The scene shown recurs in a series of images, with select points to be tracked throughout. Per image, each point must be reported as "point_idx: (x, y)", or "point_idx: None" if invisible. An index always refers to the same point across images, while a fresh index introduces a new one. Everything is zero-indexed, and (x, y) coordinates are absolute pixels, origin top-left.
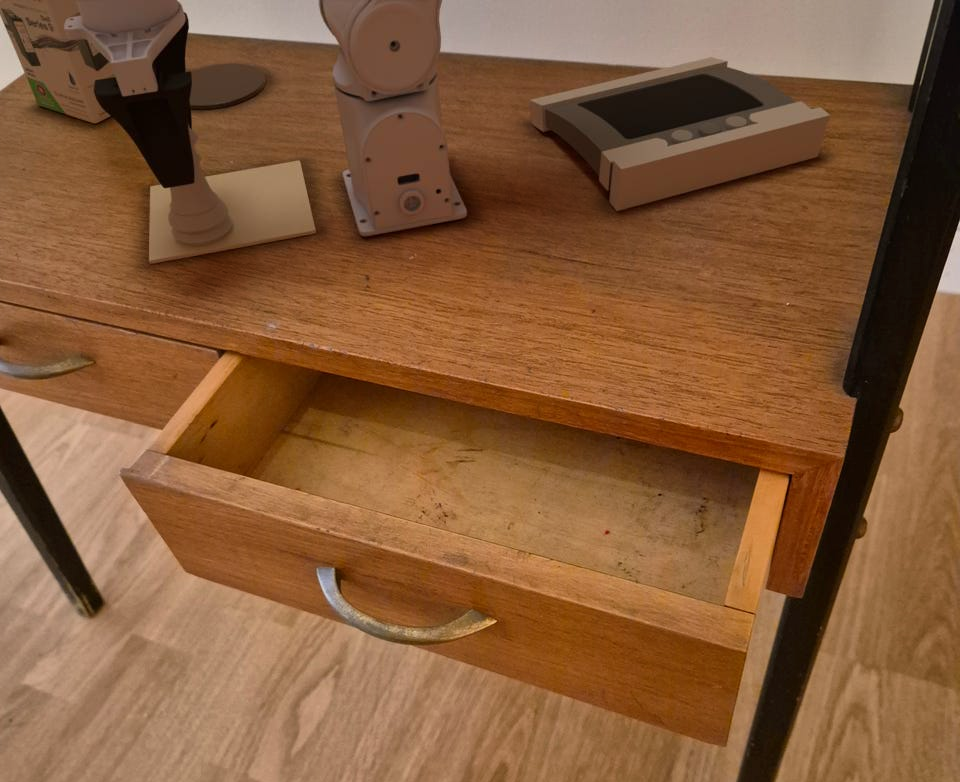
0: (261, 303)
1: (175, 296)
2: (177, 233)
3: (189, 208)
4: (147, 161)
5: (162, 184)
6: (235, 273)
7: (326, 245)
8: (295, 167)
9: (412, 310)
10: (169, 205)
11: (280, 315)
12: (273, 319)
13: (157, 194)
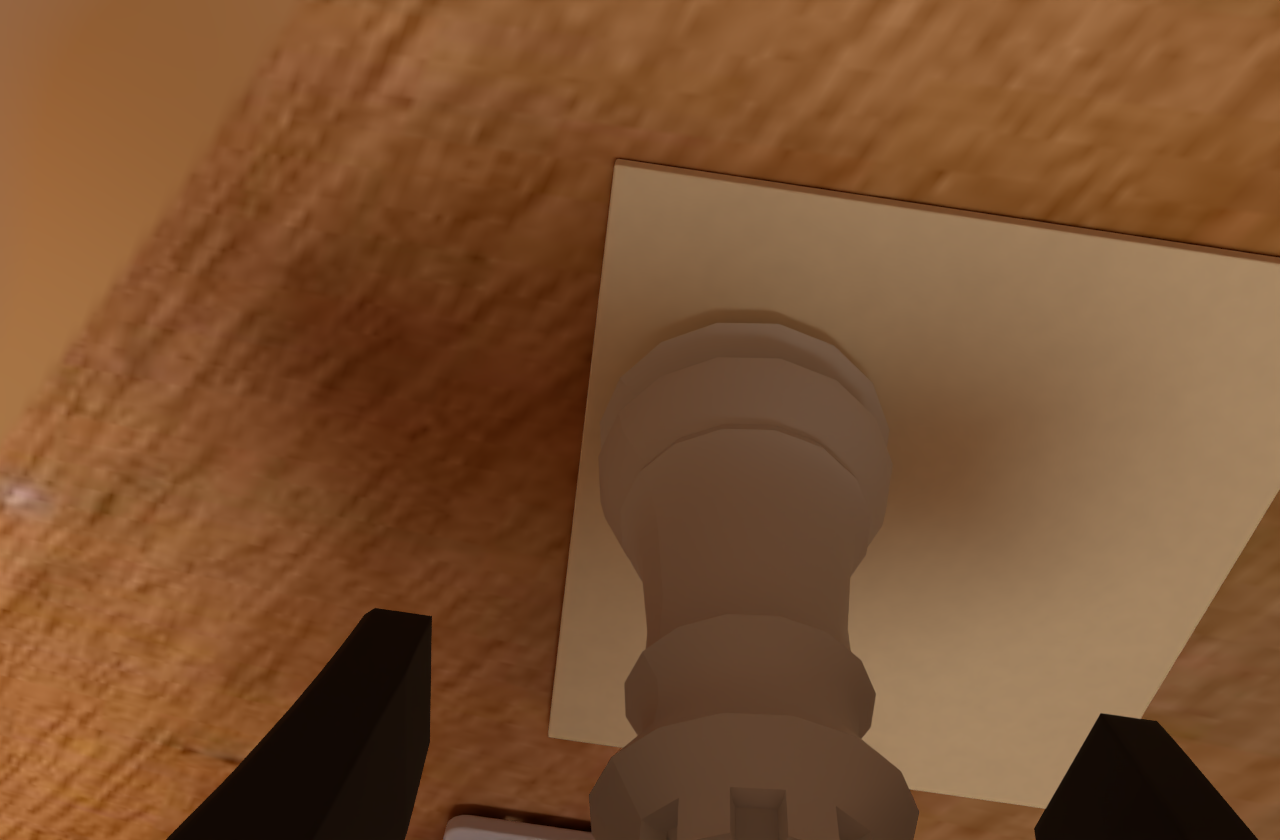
0: (165, 496)
1: (298, 224)
2: (707, 353)
3: (637, 517)
4: (260, 745)
5: (354, 629)
6: (395, 463)
7: (464, 728)
8: (1035, 793)
9: (47, 795)
10: (1101, 340)
11: (79, 530)
12: (58, 507)
13: (1273, 304)
